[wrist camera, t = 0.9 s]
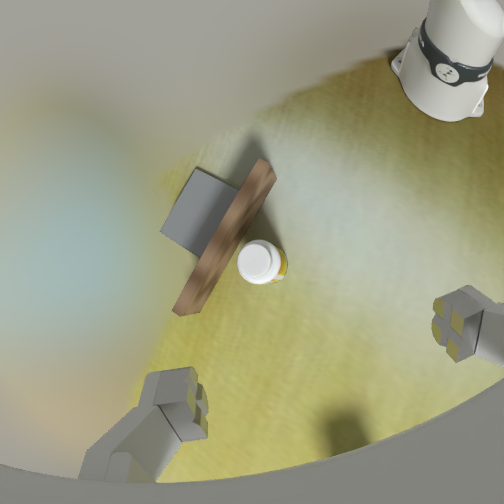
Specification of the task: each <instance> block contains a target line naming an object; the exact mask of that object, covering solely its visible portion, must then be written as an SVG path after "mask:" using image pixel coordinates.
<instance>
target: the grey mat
mask: <svg viewBox="0 0 504 504" xmlns="http://www.w3.org/2000/svg"><path fill="white" fill-rule="evenodd" d="M238 192H239V190H237V189H235V188H233V187H231V186H229V185H227V184H225V183H223V182H221V181H219V180H218V179H216V178H214V177H212V176H210V175H208V174H206V173H204V172H202V171H200V170H198V169H195V171H194V173H193V174H192V176H191V178H190V179H189V181H188V183H187V184H186V186H185V188H184V189H183V191H182V193H181V195H180V196H179V198H178V200H177V202H176V203H175V205H174V207H173V209H172V210H171V212H170V214H169V216H168V218H167V219H166V221H165V223H164V225H163V227H162V229H161V231H160V232H161V233H162V234H164V235H165V236H167V237H169V238H170V239H172V240H173V241H175V242H176V243H178V244H179V245H181V246H182V247H184V248H185V249H187V250H189V251H190V252H192V253H193V254H195V255H196V256H198V257H199V258H201V256H202V254H203V253H204V251H205V249H206V247H207V246H208V244H209V242H210V240H211V239H212V237H213V235H214V233H215V232H216V230H217V228H218V226H219V225H220V223H221V221H222V219H223V218H224V216H225V214H226V213H227V211H228V209H229V207H230V206H231V204H232V202H233V201H234V199H235V197H236V195H237V194H238Z"/></svg>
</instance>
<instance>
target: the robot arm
mask: <svg viewBox="0 0 504 504" xmlns="http://www.w3.org/2000/svg"><path fill="white" fill-rule="evenodd" d="M503 38H504V12H503V10H502V9H501V7H500V5H499V4H498V2H497V1H496V0H430V2H429V9H428V13H427V17H426V18H425V19H424V21H423V23H422V25H421V27H420V29H418V28H415V29H414V31H413V33H412V36H410V38H409V40H408V43H407V46H406V47H405V48H404V49H403V50H402V51H401V52H400V53H399V55H398V56H397V57H396V58H395V59H394V60H393V61H392V63H391V68H392V70H393V71H394V72H395V74H396V75H397V76H398V77H399V79H400V81H401V84H402V87H403V90H404V92H405V93H406V95H407V97H408V98H409V99H410V100H411V102H412V103H413V104H414V105H415V106H416V107H418V108H419V109H420V110H421V111H423V112H424V113H426V114H428V115H429V116H432V117H434V118H436V119H439V120H443V121H458V120H462V119H464V118H466V117H469V116H470V117H480V116H482V114H483V111H484V98H483V96H484V95H485V93H486V91H487V89H488V85H487V75H486V74H487V73H488V72H489V70H490V68H491V65H492V63H493V56H494V54H495V52H496V50H497V49H498V47H499V45H500V43H501V41H502V40H503ZM399 62H401V63H399ZM433 311H434V312H435V313H436V314H435V316H434V318H433V319H432V332H433V336H434V338H435V340H436V341H437V342H438V344H439V345H442V346H445V347H446V352H447V354H448V355H449V356H450V357H451V358H452V359H453V360H454V361H455V362H456V363H457V362H460V361H462V360H464V359H466V358H468V357H470V356H472V355H474V354H475V356H478V357H480V358H482V359H485V360H487V361H489V362H492V363H494V364H497V365H499V366H501V367H504V303H500V302H499V303H497V304H496V303H495V302H493V301H492V300H491V299H489V298H488V297H487V296H485V295H484V294H482V293H481V292H480V291H478V290H477V289H475V288H474V287H473V286H471V285H466V286H464V287H462V288H459V289H457V290H456V291H453V292H451V293H449V294H446V295H444V296H441V297H439V298H436V299H435V300H434V303H433ZM207 413H208V400H207V395H206V392H205V390H204V387H203V385H201V384H199V383H198V374H197V372H196V370H195V368H194V367H192V366H191V367H184V368H178V369H171V370H163V371H157V372H150V373H148V374H147V375H146V379H145V382H144V386H143V389H142V393H141V396H140V400H139V404H138V407H135V408H133V409H132V410H130V411H129V412H128V413H127V414H126V415H125V416H124V417H123V418H122V419H121V420H120V421H119V422H118V423H116V424H115V425H114V426H113V427H112V428H111V429H110V430H109V431H108V432H107V433H106V434H105V435H103V436H102V437H101V438H100V439H99V440H98V441H97V442H96V443H95V444H94V445H92V446H91V447H90V448H89V449H88V450H87V452H86V455H85V458H84V461H83V464H82V467H81V470H80V473H79V476H78V479H73V478H65V477H59V476H52V475H47V474H41V473H36V472H30V471H26V470H22V469H17V468H13V467H10V466H6V465H3V464H0V504H504V378H503V379H501V380H500V381H498V382H497V383H495V384H494V385H492V386H490V387H489V388H487V389H485V390H484V391H482V392H481V393H479V394H477V395H475V396H474V397H472V398H470V399H468V400H467V401H465V402H463V403H461V404H459V405H458V406H456V407H454V408H452V409H450V410H448V411H446V412H444V413H442V414H440V415H438V416H436V417H434V418H432V419H430V420H428V421H426V422H423V423H421V424H419V425H417V426H415V427H412V428H410V429H408V430H405V431H403V432H401V433H398V434H396V435H393V436H391V437H388V438H386V439H383V440H380V441H378V442H375V443H372V444H369V445H366V446H364V447H361V448H358V449H355V450H352V451H349V452H345V453H342V454H339V455H336V456H332V457H329V458H325V459H322V460H318V461H314V462H310V463H306V464H302V465H298V466H294V467H289V468H285V469H280V470H275V471H270V472H264V473H259V474H253V475H246V476H240V477H233V478H225V479H216V480H206V481H193V482H176V483H157V482H156V480H157V479H158V477H159V476H160V475H161V473H162V472H163V470H164V469H165V468H166V466H167V465H168V463H169V462H170V460H171V459H172V458H173V456H174V455H175V453H176V452H177V450H178V449H179V447H180V446H181V445H182V442H186V441H194V440H201V439H207V438H208V422H207V420H206V418H205V416H206V415H207Z"/></svg>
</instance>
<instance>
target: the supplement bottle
mask: <svg viewBox="0 0 504 504" xmlns="http://www.w3.org/2000/svg"><path fill="white" fill-rule="evenodd" d="M237 266H238V270H239V272H240V274H241V276H242V277H243V278H244V279H245V280H247V281H248V282H251V283H254V284H272V283H276V282H278V281H280V280H281V279H282V278H283V277H284V276H285V274H286V272H287V269H288V261H287V258H286V255H285V254H284V253H283V251H281V250H280V249H279V248H277V247H276V246H274V245H273V244H271V243H270V242H268V241H265V240H253V241H251V242H249V243H247V244H246V245H244V246H243V247H242V249H241V250H240V252H239V254H238V258H237Z"/></svg>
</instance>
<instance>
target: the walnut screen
mask: <svg viewBox="0 0 504 504" xmlns="http://www.w3.org/2000/svg"><path fill="white" fill-rule="evenodd" d="M276 180H277V178H276V176H275V174H274V172H273V170H272V168H271V166H270V164H269V162H267V161H265V160H262V159H260V158H259V159H258V160H257V162H256V164H255V165H254V167H253V169H252V170H251V172H250V174H249V175H248V177H247V179H246V180H245V182H244V184H243V185H242V187H241V189H240V190H239V192H238V194H237V195H236V197H235V199H234V201H233V202H232V204H231V206H230V207H229V209H228V211H227V213H226V214H225V216H224V218H223V219H222V221H221V223H220V225H219V226H218V228H217V230H216V232H215V233H214V235H213V237H212V239H211V240H210V242H209V244H208V246H207V247H206V249H205V251H204V253H203V254H202V256H201V258H200V260H199V262H198V263H197V265H196V267H195V269H194V271H193V272H192V274H191V276H190V278H189V280H188V281H187V283H186V285H185V287H184V289H183V291H182V292H181V294H180V296H179V298H178V300H177V302H176V303H175V305H174V307H173V309H172V311H173V312H174V313H176V314H177V315H178V316H186V315H190V314H195V313H200V311H201V309H202V308H203V306H204V304H205V302H206V301H207V299H208V297H209V295H210V294H211V292H212V290H213V288H214V287H215V285H216V283H217V281H218V280H219V278H220V276H221V274H222V273H223V271H224V269H225V267H226V266H227V264H228V262H229V260H230V259H231V257H232V255H233V253H234V252H235V250H236V248H237V246H238V245H239V243H240V241H241V240H242V238H243V236H244V234H245V233H246V231H247V229H248V227H249V226H250V224H251V222H252V221H253V219H254V217H255V215H256V214H257V212H258V210H259V209H260V207H261V205H262V203H263V202H264V200H265V198H266V197H267V195H268V193H269V191H270V190H271V188H272V186H273V185H274V183H275V181H276Z"/></svg>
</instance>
